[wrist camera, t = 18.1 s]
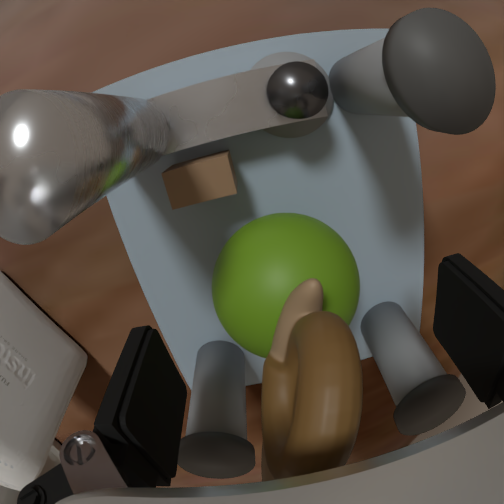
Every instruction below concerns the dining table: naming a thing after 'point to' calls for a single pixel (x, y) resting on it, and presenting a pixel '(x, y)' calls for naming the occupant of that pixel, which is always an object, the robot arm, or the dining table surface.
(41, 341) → the photo printer
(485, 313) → the robot arm
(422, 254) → the stool frame
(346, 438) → the snail figurine
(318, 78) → the hinged leg
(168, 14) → the dining table surface
